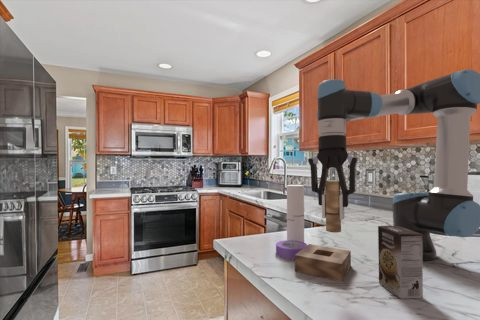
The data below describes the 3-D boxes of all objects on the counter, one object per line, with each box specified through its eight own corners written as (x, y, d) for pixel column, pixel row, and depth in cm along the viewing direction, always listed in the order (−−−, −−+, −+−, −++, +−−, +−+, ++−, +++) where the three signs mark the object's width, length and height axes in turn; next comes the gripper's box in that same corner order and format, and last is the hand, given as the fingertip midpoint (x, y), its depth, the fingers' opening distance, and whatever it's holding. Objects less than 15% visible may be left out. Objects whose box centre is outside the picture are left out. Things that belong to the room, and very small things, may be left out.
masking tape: (273, 257, 95) (273, 247, 95) (279, 248, 106) (279, 238, 106) (306, 261, 91) (306, 250, 91) (309, 251, 102) (308, 241, 102)
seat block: (350, 266, 86) (350, 250, 86) (341, 281, 74) (341, 263, 74) (309, 258, 94) (309, 244, 94) (294, 271, 82) (294, 254, 82)
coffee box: (377, 283, 73) (376, 225, 74) (399, 282, 74) (398, 225, 74) (400, 299, 64) (399, 233, 65) (424, 298, 65) (423, 233, 65)
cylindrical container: (304, 247, 106) (304, 186, 106) (286, 246, 107) (286, 185, 108) (303, 242, 113) (303, 184, 113) (287, 241, 114) (287, 184, 115)
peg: (342, 230, 74) (341, 180, 75) (339, 233, 71) (338, 181, 71) (327, 228, 76) (327, 180, 77) (324, 231, 73) (323, 181, 73)
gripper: (298, 136, 76) (299, 217, 75) (363, 131, 67) (365, 223, 66) (306, 138, 82) (307, 213, 81) (366, 134, 73) (368, 218, 72)
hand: (333, 217), depth 74 cm, fingers closed on peg, 4 cm apart
